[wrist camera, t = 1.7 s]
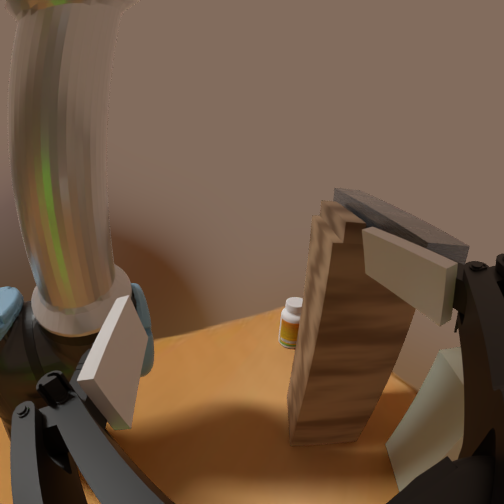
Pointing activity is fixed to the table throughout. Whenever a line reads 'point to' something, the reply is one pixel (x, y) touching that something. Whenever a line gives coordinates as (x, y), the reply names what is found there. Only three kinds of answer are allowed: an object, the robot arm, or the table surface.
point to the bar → (400, 223)
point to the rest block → (431, 421)
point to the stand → (341, 335)
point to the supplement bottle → (290, 322)
